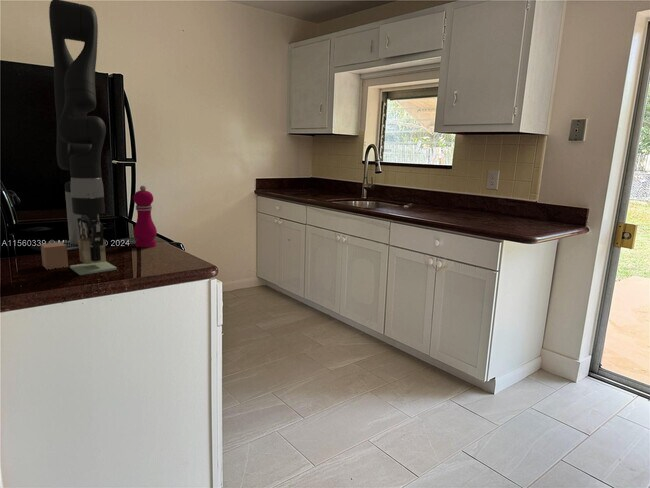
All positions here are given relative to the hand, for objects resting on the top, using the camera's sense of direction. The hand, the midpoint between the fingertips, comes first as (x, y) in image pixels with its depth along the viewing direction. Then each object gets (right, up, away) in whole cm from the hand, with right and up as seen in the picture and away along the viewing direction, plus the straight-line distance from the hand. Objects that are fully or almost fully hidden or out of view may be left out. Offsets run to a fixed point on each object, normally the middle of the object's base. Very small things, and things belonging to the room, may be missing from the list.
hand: (92, 258), depth 119 cm
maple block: (0, -1, 0) cm, 1 cm away
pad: (0, -3, +1) cm, 3 cm away
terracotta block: (-11, -2, +2) cm, 11 cm away
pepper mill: (+2, +3, +29) cm, 30 cm away
